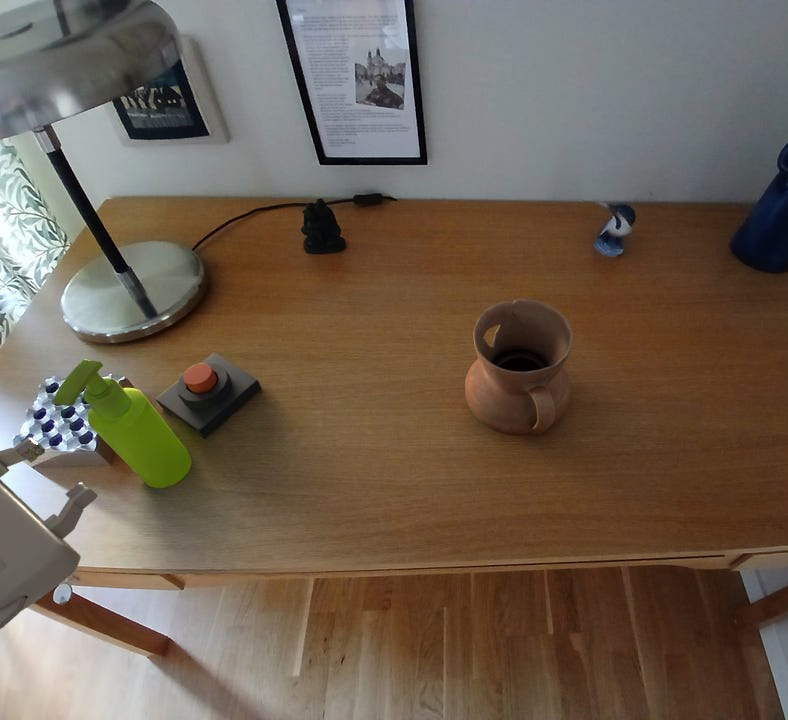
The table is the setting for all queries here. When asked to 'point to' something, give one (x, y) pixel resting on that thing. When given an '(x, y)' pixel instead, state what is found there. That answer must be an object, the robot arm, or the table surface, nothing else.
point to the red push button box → (210, 397)
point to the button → (200, 378)
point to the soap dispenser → (127, 425)
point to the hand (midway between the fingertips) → (63, 465)
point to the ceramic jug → (520, 368)
